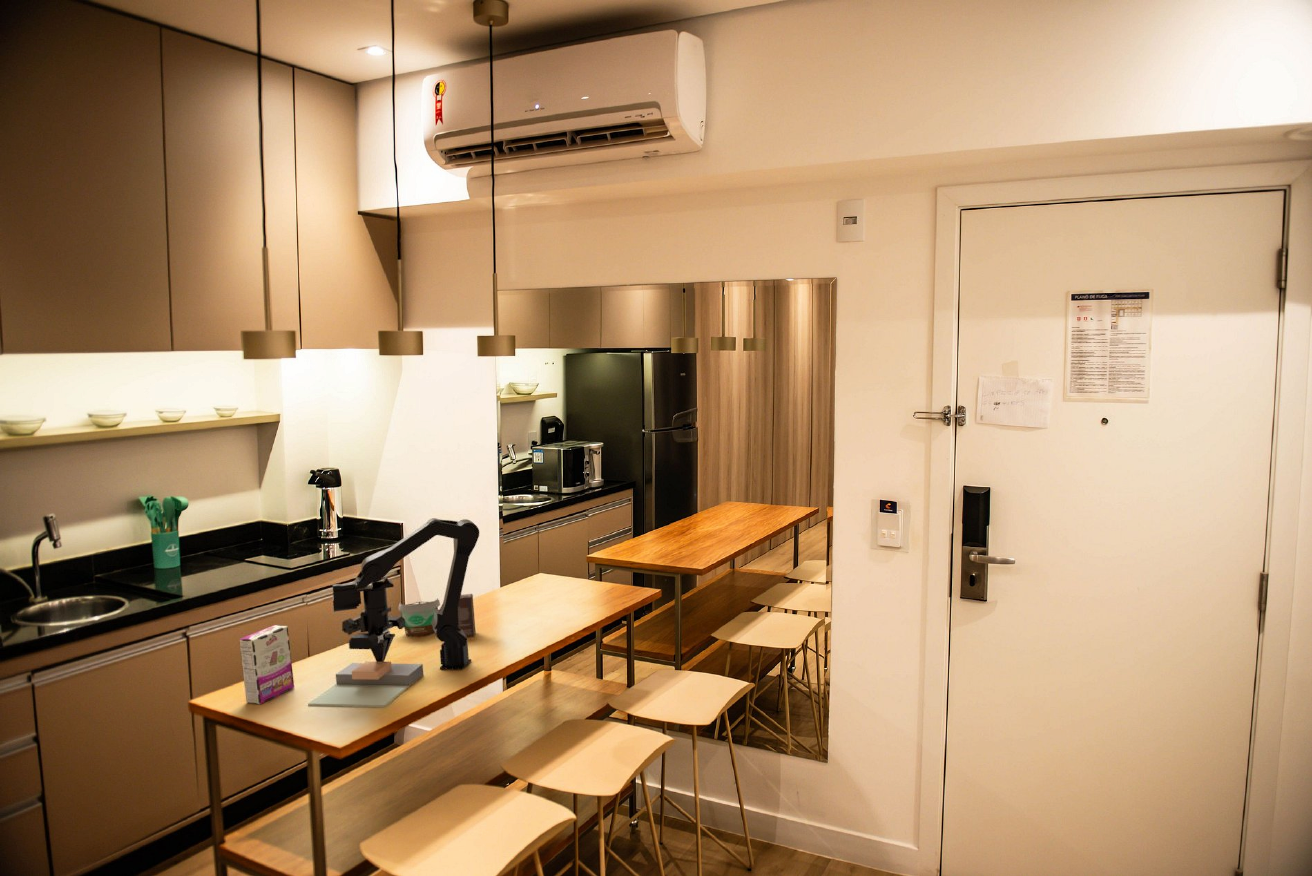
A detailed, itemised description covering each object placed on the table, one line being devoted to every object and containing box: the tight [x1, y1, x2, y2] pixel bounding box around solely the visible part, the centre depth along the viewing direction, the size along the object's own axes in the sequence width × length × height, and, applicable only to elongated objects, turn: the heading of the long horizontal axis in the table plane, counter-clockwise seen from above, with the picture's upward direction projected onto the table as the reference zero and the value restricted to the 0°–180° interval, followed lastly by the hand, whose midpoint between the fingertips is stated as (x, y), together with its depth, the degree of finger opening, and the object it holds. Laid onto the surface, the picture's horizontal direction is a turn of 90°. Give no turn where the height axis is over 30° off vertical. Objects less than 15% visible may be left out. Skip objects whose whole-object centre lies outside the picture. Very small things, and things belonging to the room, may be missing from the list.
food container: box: [397, 598, 441, 638], centre depth 251 cm, size 12×6×10 cm, turn 105°
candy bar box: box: [238, 624, 295, 705], centre depth 208 cm, size 11×5×16 cm, turn 158°
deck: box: [335, 662, 424, 688], centre depth 215 cm, size 20×8×3 cm, turn 80°
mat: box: [307, 683, 409, 708], centre depth 205 cm, size 20×12×1 cm, turn 80°
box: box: [458, 593, 476, 637], centre depth 248 cm, size 6×4×12 cm
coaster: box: [352, 660, 392, 679], centre depth 211 cm, size 7×7×2 cm
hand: (380, 664), depth 216 cm, fingers closed
